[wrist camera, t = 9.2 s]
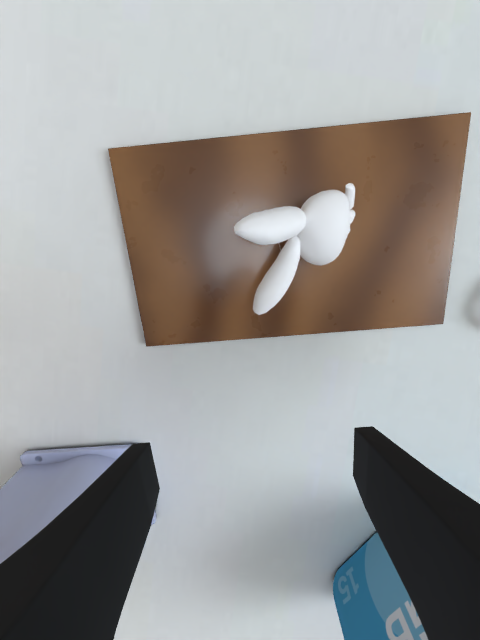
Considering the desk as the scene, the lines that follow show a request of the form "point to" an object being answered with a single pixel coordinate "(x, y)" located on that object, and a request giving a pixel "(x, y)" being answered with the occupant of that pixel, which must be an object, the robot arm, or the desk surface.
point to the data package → (374, 598)
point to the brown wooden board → (255, 260)
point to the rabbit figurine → (298, 238)
